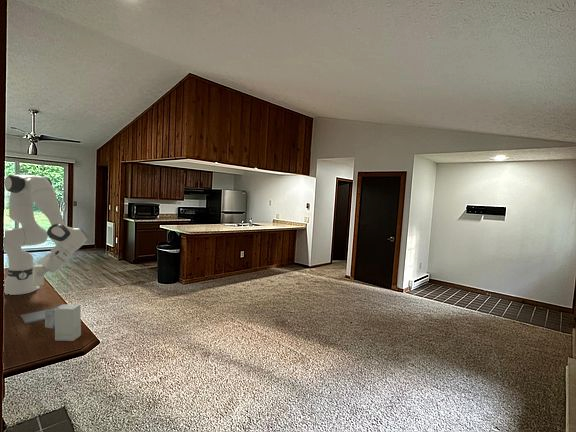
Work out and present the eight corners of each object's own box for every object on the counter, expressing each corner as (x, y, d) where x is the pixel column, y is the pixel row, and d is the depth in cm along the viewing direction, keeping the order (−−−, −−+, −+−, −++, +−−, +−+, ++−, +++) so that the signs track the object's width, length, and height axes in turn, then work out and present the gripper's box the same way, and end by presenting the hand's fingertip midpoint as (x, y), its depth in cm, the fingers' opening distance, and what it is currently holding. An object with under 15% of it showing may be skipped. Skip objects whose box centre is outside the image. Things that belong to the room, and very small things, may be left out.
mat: (20, 316, 157) (20, 314, 157) (54, 309, 168) (54, 308, 168) (25, 324, 149) (25, 322, 149) (60, 316, 160) (60, 315, 160)
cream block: (32, 284, 162) (32, 265, 162) (42, 283, 165) (42, 264, 165) (34, 286, 160) (34, 266, 159) (44, 284, 163) (44, 265, 162)
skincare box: (81, 335, 143) (82, 304, 142) (72, 342, 137) (73, 309, 136) (62, 334, 142) (63, 303, 141) (53, 341, 136) (53, 308, 135)
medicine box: (52, 329, 147) (52, 311, 146) (44, 327, 148) (44, 309, 147) (67, 322, 155) (67, 305, 154) (59, 321, 156) (60, 304, 155)
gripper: (49, 247, 173) (26, 267, 167) (60, 253, 160) (36, 275, 154) (59, 254, 177) (37, 273, 170) (70, 261, 164) (47, 282, 157)
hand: (36, 274), depth 162 cm, fingers closed on cream block, 4 cm apart
